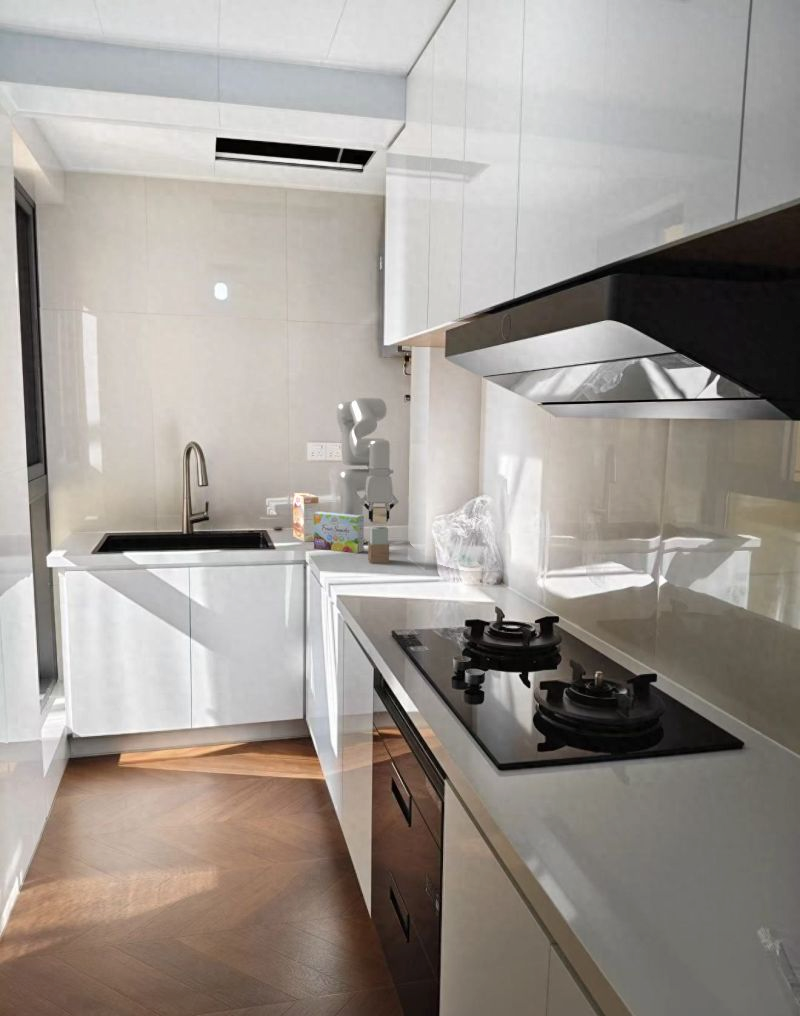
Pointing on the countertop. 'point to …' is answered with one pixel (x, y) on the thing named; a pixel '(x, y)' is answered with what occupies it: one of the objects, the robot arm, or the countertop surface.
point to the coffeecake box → (304, 516)
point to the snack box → (339, 532)
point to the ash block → (379, 514)
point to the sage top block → (379, 535)
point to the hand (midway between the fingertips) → (378, 520)
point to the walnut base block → (378, 553)
